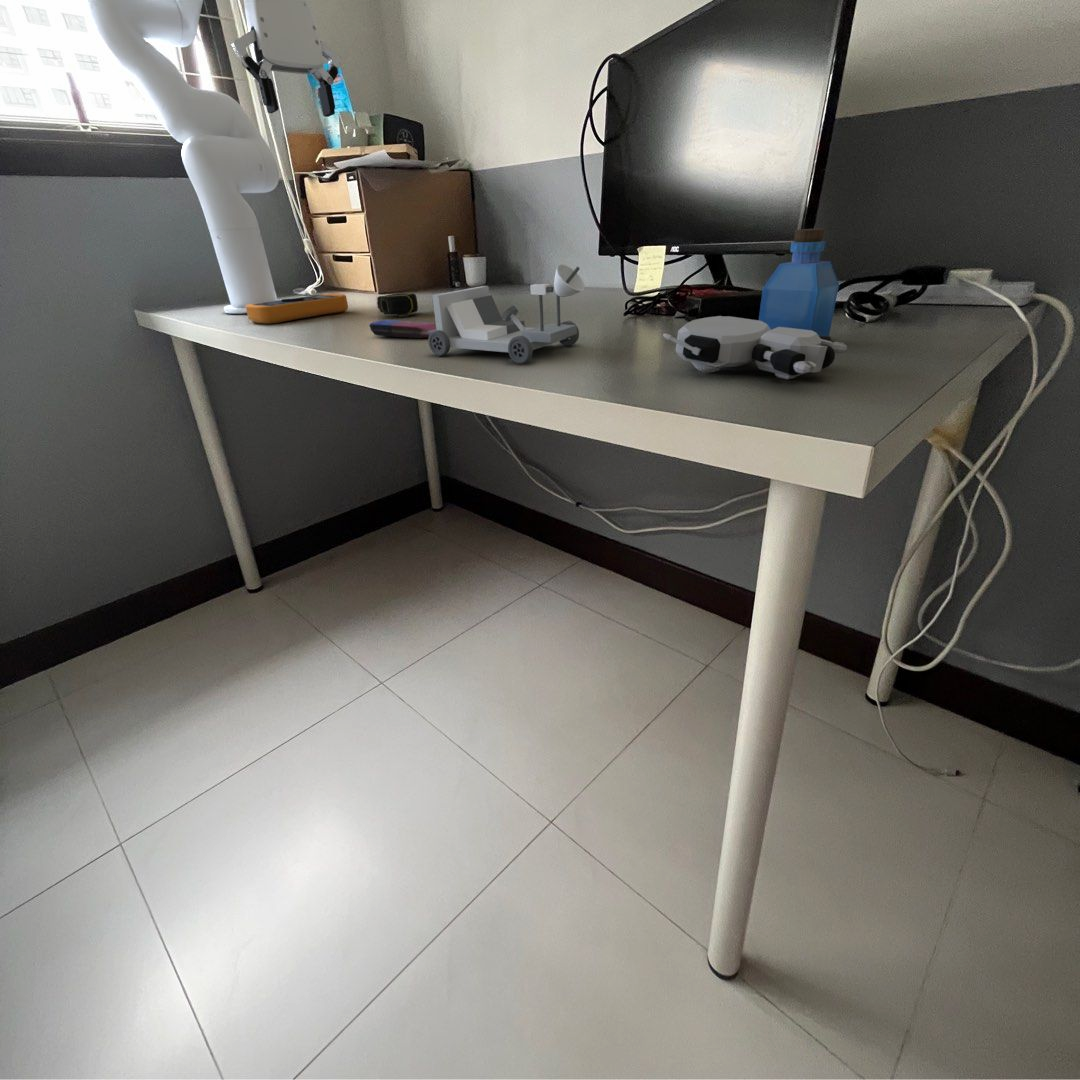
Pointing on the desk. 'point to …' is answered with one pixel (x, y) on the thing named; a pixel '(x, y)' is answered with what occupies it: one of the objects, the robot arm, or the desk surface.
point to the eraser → (403, 329)
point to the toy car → (501, 320)
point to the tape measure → (398, 304)
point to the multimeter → (296, 308)
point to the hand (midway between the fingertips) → (302, 113)
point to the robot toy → (753, 346)
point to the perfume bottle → (802, 288)
